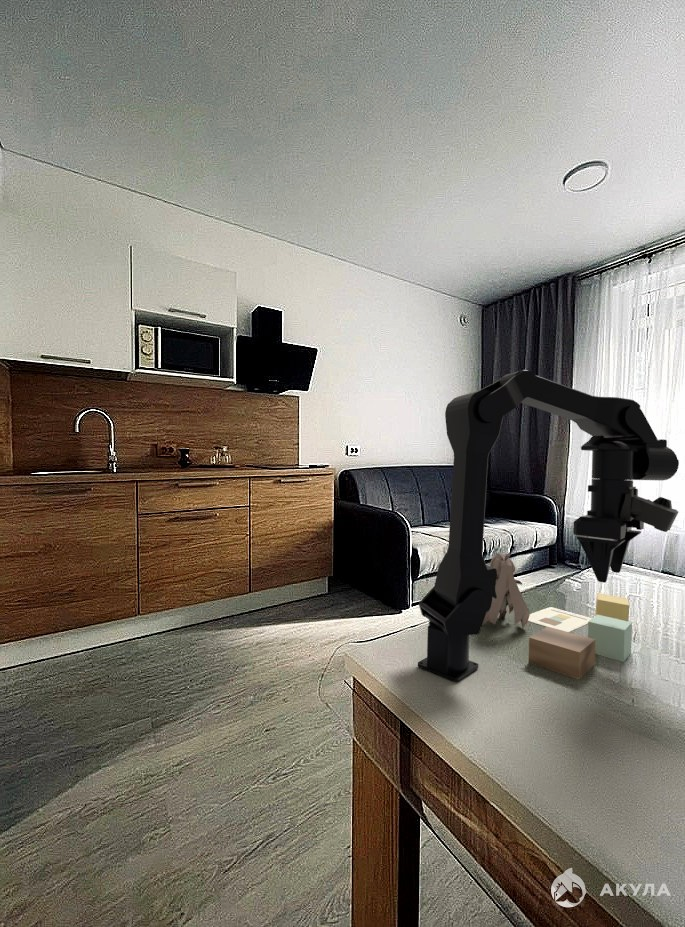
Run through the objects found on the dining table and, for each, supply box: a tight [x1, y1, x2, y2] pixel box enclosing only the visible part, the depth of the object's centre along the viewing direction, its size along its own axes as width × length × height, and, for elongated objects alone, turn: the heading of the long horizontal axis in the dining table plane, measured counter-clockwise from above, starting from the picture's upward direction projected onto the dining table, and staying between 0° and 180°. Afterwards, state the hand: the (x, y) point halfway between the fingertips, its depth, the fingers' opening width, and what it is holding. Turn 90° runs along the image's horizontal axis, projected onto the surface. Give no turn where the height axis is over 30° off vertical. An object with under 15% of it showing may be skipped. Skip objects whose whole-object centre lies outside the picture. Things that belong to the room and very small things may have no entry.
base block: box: [528, 627, 596, 680], centre depth 67 cm, size 7×7×4 cm
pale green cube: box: [587, 615, 633, 663], centre depth 71 cm, size 5×5×5 cm
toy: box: [482, 552, 530, 629], centre depth 82 cm, size 9×8×15 cm
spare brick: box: [594, 592, 630, 622], centre depth 83 cm, size 5×5×5 cm
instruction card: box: [527, 606, 593, 633], centre depth 86 cm, size 12×9×1 cm
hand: (609, 577), depth 72 cm, fingers open, 9 cm apart
